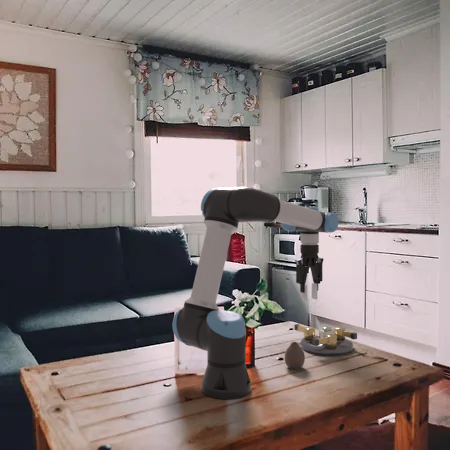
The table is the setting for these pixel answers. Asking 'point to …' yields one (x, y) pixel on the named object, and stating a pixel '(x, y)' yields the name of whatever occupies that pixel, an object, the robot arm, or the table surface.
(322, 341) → the knob
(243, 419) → the table surface
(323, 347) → the levelling base
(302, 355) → the brown egg-shaped piece
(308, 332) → the knob
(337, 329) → the brass elongated piece
